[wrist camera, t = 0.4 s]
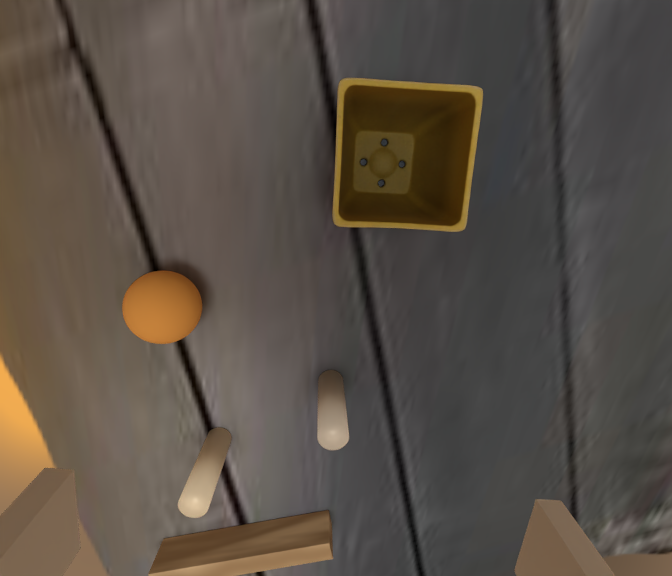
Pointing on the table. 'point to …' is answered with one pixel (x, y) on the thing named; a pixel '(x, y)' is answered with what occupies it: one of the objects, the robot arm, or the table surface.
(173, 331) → the ball
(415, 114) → the flower pot
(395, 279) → the table surface
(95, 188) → the table surface
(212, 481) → the cream pin
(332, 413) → the beige tapered peg
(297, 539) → the back wall
